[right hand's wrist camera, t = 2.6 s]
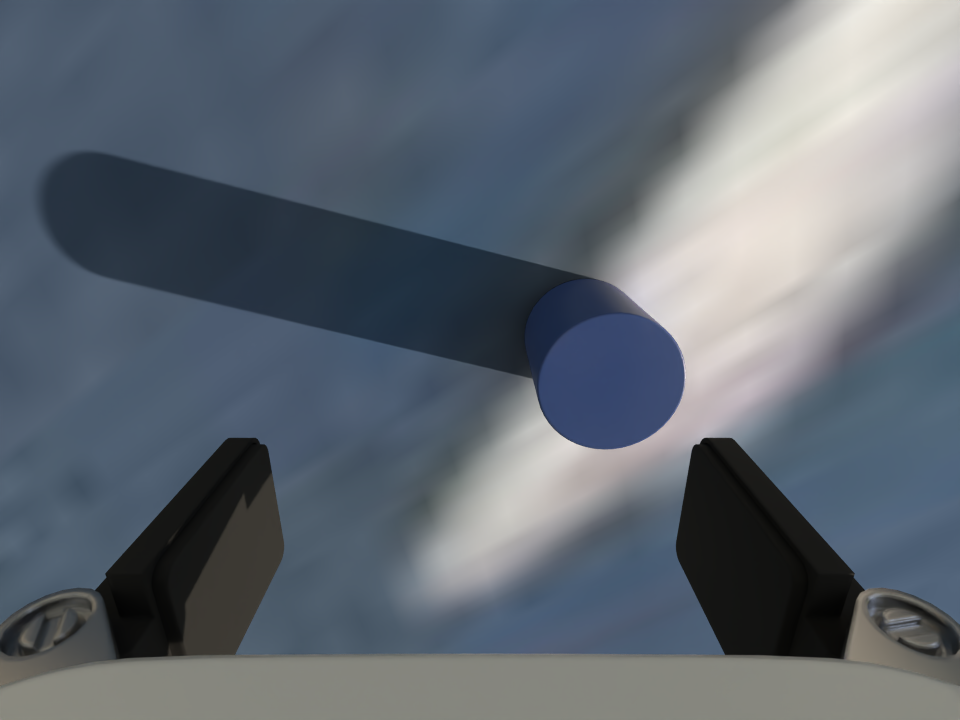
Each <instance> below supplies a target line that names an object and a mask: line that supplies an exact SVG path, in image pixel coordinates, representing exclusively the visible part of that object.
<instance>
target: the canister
mask: <svg viewBox="0 0 960 720" xmlns="http://www.w3.org/2000/svg"><path fill="white" fill-rule="evenodd" d="M525 348H526V352H527V356H528V360H529V364H530V369H531V373H532V377H533V381H534V385H535V389H536V393H537V397H538V401H539V404H540V408H541V410H542V412H543V414H544V416H545V418H546V419H547V421H548V422H549V424H550V425H551V426H552V427H553V428H554V429H555V430H556V431H557V432H558V433H559V434H560V435H562V436H563V437H565V438H566V439H568V440H570V441H572V442H574V443H576V444H579V445H582V446H585V447H589V448H594V449H616V448H622V447H626V446H630V445H633V444H635V443H638V442H640V441H642V440H644V439H646V438H648V437H649V436H651V435H652V434H654V433H655V432H657V431H658V430H659V429H660V428H661V427H663V426H664V424H665V423H666V422H667V421H668V420H669V419H670V418H671V416H672V415H673V414H674V412H675V410H676V409H677V407H678V405H679V403H680V400H681V398H682V395H683V392H684V388H685V380H686V369H685V363H684V358H683V355H682V352H681V350H680V348H679V346H678V344H677V343H676V341H675V340H674V338H673V337H672V336H671V335H670V334H669V333H668V332H667V331H666V330H665V329H664V328H663V327H662V326H661V325H660V324H659V323H657V322H656V321H655V320H654V319H653V318H652V317H651V316H650V315H648V314H647V313H646V312H645V311H644V310H643V309H642V308H640V307H639V306H638V305H637V304H636V303H635V302H634V301H632V300H631V299H630V298H629V297H628V296H627V295H626V294H625V293H623V292H622V291H621V290H619V289H618V288H617V287H615V286H613V285H611V284H609V283H606V282H604V281H600V280H595V279H578V280H572V281H569V282H565V283H563V284H561V285H558V286H556V287H555V288H553V289H551V290H550V291H549V292H547V293H546V294H545V295H544V296H543V297H542V298H541V299H540V300H539V301H538V302H537V303H536V305H535V306H534V308H533V309H532V311H531V313H530V315H529V317H528V320H527V323H526V327H525Z"/></svg>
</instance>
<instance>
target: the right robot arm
mask: <svg viewBox="0 0 960 720" xmlns="http://www.w3.org/2000/svg"><path fill="white" fill-rule="evenodd" d="M283 552H284V540H283V535H282V529H281V523H280V517H279V511H278V505H277V500H276V494H275V488H274V482H273V476H272V470H271V465H270V459H269V453H268V449H267V447H266V445H264V444H260V443H259V441H258V439H256V438H228V439H227V440H225V441H224V442H223V444H222V445H221V446H220V447H219V448H218V449H217V450H216V451H215V452H214V454H213V455H212V456H211V457H210V458H209V459H208V460H207V461H206V462H205V464H204V465H203V466H202V467H201V468H200V469H199V470H198V471H197V472H196V474H195V475H194V476H193V477H192V478H191V479H190V480H189V481H188V482H187V484H186V485H185V486H184V487H183V488H182V489H181V490H180V491H179V492H178V494H177V495H176V496H175V497H174V498H173V499H172V500H171V501H170V502H169V504H168V505H167V506H166V507H165V508H164V509H163V510H162V511H161V512H160V514H159V515H158V516H157V517H156V518H155V519H154V520H153V521H152V522H151V524H150V525H149V526H148V527H147V528H146V529H145V530H144V531H143V532H142V533H141V535H140V536H139V537H138V538H137V539H136V540H135V541H134V542H133V543H132V545H131V546H130V547H129V548H128V549H127V550H126V551H125V552H124V553H123V555H122V556H121V557H120V558H119V559H118V560H117V561H116V562H115V563H114V565H113V566H112V567H111V568H110V569H109V570H108V571H107V572H106V573H105V574H106V577H107V578H106V579H105V580H104V581H103V582H102V583H101V584H100V585H99V587H98V588H97V589H96V590H92V589H88V588H73V589H67V590H62V591H59V592H55V593H52V594H49V595H46V596H44V597H42V598H40V599H38V600H35V601H33V602H31V603H29V604H27V605H26V606H24V607H23V608H21V609H20V610H18V611H17V612H15V613H14V614H12V615H11V616H10V617H9V618H7V619H6V620H5V621H4V622H3V623H2V624H1V625H0V720H960V625H959V624H958V623H957V622H956V621H955V620H954V619H953V618H951V617H950V616H949V615H948V614H946V613H945V612H943V611H942V610H940V609H939V608H937V607H936V606H934V605H933V604H931V603H929V602H927V601H925V600H922V599H920V598H918V597H916V596H914V595H911V594H908V593H905V592H901V591H898V590H893V589H887V588H872V589H868V590H864V589H863V588H862V587H861V585H860V584H859V583H858V582H857V581H856V580H855V579H854V578H853V577H854V574H855V573H854V572H853V571H852V570H851V569H850V568H849V567H848V566H847V565H846V563H845V562H844V561H843V560H842V559H841V558H840V557H839V556H838V555H837V553H836V552H835V551H834V550H833V549H832V548H831V547H830V546H829V545H828V543H827V542H826V541H825V540H824V539H823V538H822V537H821V536H820V535H819V533H818V532H817V531H816V530H815V529H814V528H813V527H812V526H811V525H810V524H809V522H808V521H807V520H806V519H805V518H804V517H803V516H802V515H801V514H800V512H799V511H798V510H797V509H796V508H795V507H794V506H793V505H792V504H791V502H790V501H789V500H788V499H787V498H786V497H785V496H784V495H783V494H782V492H781V491H780V490H779V489H778V488H777V487H776V486H775V485H774V484H773V482H772V481H771V480H770V479H769V478H768V477H767V476H766V475H765V474H764V472H763V471H762V470H761V469H760V468H759V467H758V466H757V465H756V464H755V462H754V461H753V460H752V459H751V458H750V457H749V456H748V455H747V454H746V452H745V451H744V450H743V449H742V448H741V447H740V446H739V445H738V444H737V442H736V441H735V440H733V439H732V438H704V439H702V441H701V443H700V444H696V445H694V447H693V449H692V453H691V459H690V465H689V470H688V476H687V482H686V488H685V494H684V500H683V505H682V511H681V517H680V523H679V529H678V535H677V540H676V552H677V557H678V560H679V562H680V564H681V566H682V568H683V570H684V572H685V574H686V576H687V578H688V580H689V582H690V584H691V587H692V589H693V591H694V593H695V595H696V597H697V599H698V601H699V603H700V605H701V607H702V609H703V611H704V613H705V615H706V617H707V619H708V621H709V623H710V625H711V627H712V629H713V631H714V633H715V635H716V637H717V639H718V641H719V643H720V645H721V647H722V649H723V651H724V653H725V655H659V654H301V655H235V653H236V651H237V649H238V647H239V645H240V643H241V641H242V639H243V637H244V635H245V633H246V631H247V629H248V627H249V625H250V623H251V621H252V619H253V617H254V615H255V613H256V611H257V609H258V607H259V605H260V603H261V601H262V599H263V597H264V595H265V593H266V591H267V589H268V587H269V584H270V582H271V580H272V578H273V576H274V574H275V572H276V570H277V568H278V566H279V564H280V562H281V560H282V557H283Z"/></svg>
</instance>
